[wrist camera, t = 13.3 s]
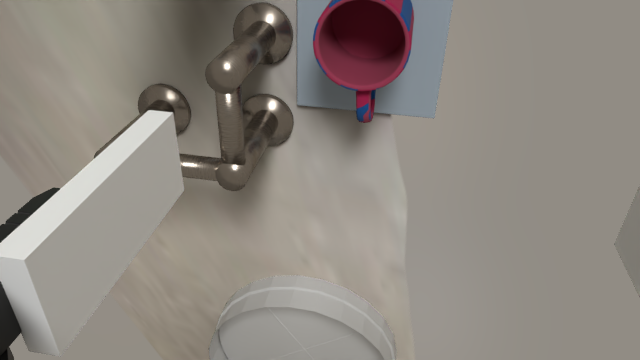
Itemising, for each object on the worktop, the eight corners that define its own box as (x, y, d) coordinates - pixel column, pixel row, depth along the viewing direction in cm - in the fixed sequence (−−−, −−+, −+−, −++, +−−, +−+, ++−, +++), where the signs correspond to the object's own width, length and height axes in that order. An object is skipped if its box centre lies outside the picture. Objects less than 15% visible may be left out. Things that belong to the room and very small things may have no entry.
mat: (299, -42, 39) (297, -41, 39) (457, -33, 37) (458, -32, 37) (298, 102, 46) (297, 104, 45) (434, 115, 44) (434, 118, 43)
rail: (120, -8, 43) (43, 25, 34) (292, 4, 41) (256, 43, 32) (145, 129, 50) (86, 185, 41) (293, 145, 48) (263, 208, 39)
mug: (420, -22, 38) (418, -1, 32) (401, 102, 43) (397, 138, 37) (331, -31, 39) (315, -12, 33) (324, 92, 44) (308, 126, 38)
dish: (186, 306, 64) (169, 337, 59) (331, 247, 54) (323, 279, 50) (288, 411, 72) (279, 445, 67) (430, 375, 62) (430, 411, 58)
